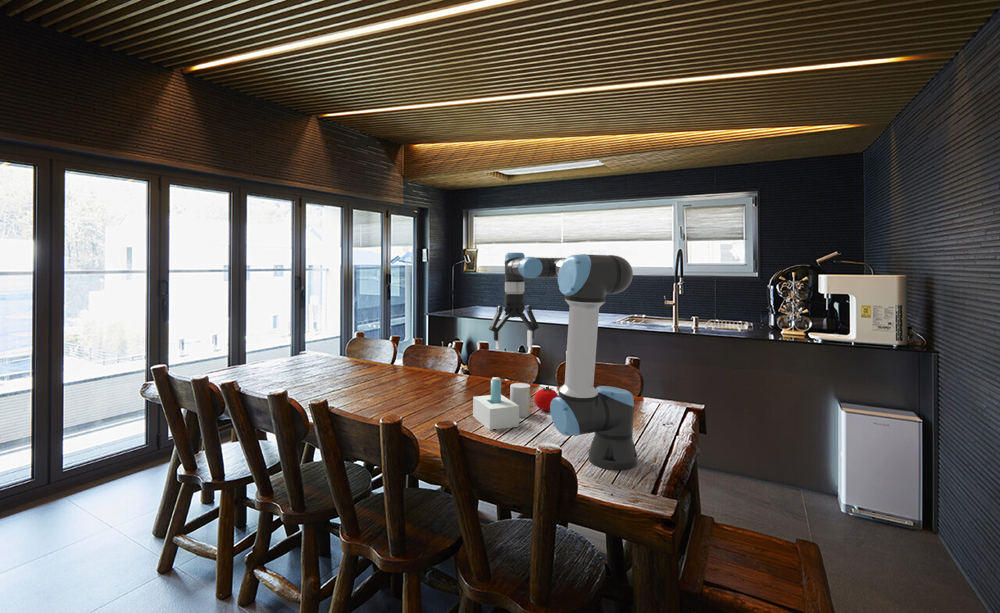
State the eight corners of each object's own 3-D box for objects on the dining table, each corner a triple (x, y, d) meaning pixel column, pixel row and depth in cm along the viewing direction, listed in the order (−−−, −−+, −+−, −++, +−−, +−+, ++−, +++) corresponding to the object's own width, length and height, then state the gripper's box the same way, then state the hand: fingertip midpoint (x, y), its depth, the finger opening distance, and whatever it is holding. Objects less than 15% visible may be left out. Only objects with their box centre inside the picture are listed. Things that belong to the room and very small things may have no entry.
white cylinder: (528, 417, 197) (528, 388, 196) (508, 416, 199) (508, 387, 198) (530, 411, 205) (531, 383, 204) (511, 410, 207) (512, 382, 206)
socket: (518, 426, 186) (519, 405, 186) (489, 430, 182) (489, 409, 181) (500, 412, 203) (500, 394, 202) (473, 416, 198) (473, 396, 198)
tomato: (531, 412, 205) (531, 388, 204) (537, 405, 214) (537, 383, 214) (556, 414, 201) (556, 391, 201) (560, 407, 211) (561, 385, 210)
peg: (502, 416, 191) (502, 378, 190) (492, 417, 190) (493, 379, 188) (498, 413, 195) (498, 376, 194) (488, 414, 193) (489, 377, 192)
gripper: (538, 292, 196) (537, 344, 197) (480, 293, 186) (480, 348, 187) (547, 293, 189) (547, 347, 191) (488, 294, 179) (488, 351, 180)
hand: (514, 348), depth 189 cm, fingers open, 13 cm apart
